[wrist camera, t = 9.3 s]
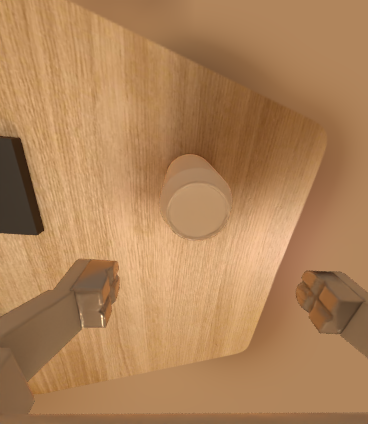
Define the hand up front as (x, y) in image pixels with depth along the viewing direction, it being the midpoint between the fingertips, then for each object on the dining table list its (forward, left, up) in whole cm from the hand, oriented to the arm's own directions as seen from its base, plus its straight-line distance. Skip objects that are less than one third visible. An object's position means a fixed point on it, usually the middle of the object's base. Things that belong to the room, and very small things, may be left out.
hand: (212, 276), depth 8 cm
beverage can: (0, 0, -19) cm, 19 cm away
